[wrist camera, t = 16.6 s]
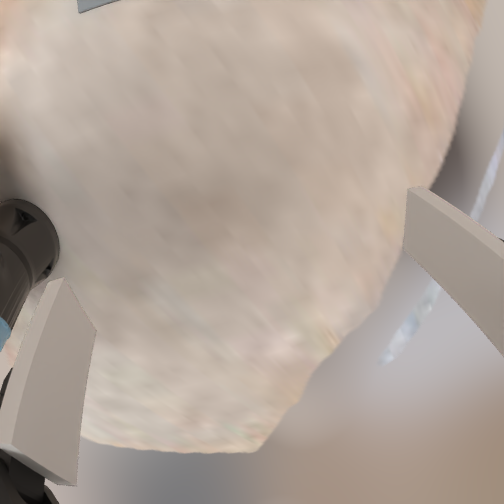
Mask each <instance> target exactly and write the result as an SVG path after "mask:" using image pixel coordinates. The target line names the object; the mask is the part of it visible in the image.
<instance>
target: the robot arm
mask: <svg viewBox="0 0 504 504" xmlns="http://www.w3.org/2000/svg"><path fill="white" fill-rule="evenodd" d="M403 249H404V250H405V251H406V252H407V253H408V254H409V255H410V256H411V257H412V258H413V259H414V260H415V261H416V262H417V263H418V264H419V265H420V266H421V267H422V268H423V269H424V270H425V271H426V272H428V274H429V275H430V276H431V277H432V278H433V279H434V280H435V281H436V282H437V283H438V284H439V285H440V286H441V287H442V288H443V289H444V290H445V291H446V292H447V293H448V294H449V295H450V296H451V297H452V298H453V299H454V301H455V302H456V303H457V304H458V305H459V306H460V307H461V308H462V309H463V310H464V311H465V313H467V315H468V316H469V317H470V318H471V319H472V320H473V321H474V323H476V325H477V326H478V327H479V328H480V329H481V331H483V333H484V334H485V335H486V336H487V338H488V339H489V340H490V341H491V342H492V344H493V345H494V346H495V347H496V348H497V350H498V351H499V352H500V353H501V354H502V356H503V357H504V240H502V239H500V238H498V237H496V236H495V235H494V234H492V233H491V232H490V231H488V230H487V229H486V228H484V227H483V226H481V225H480V224H479V223H477V222H476V221H474V220H473V219H472V218H470V217H469V216H467V215H466V214H464V213H463V212H462V211H460V210H459V209H457V208H455V207H454V206H453V205H451V204H450V203H448V202H447V201H445V200H443V199H442V198H440V197H439V196H437V195H436V194H434V193H433V192H431V191H429V190H428V189H426V188H424V187H423V186H418V187H414V188H409V189H407V202H406V217H405V229H404V240H403ZM58 256H59V241H58V237H57V233H56V231H55V229H54V226H53V225H52V223H51V221H50V220H49V218H48V217H47V216H46V215H45V214H44V213H43V212H42V211H41V210H40V209H39V208H38V207H36V206H35V205H33V204H31V203H29V202H27V201H23V200H18V199H13V200H7V201H5V202H3V203H1V204H0V352H1V350H2V348H3V346H4V344H5V342H6V340H7V339H8V338H9V337H10V334H11V331H12V329H13V327H14V324H15V322H16V320H17V317H18V315H19V313H20V311H21V309H22V306H23V304H24V302H25V300H26V298H27V296H28V294H29V292H30V290H31V289H33V288H34V287H35V286H37V285H38V284H39V283H41V282H42V281H44V280H45V279H46V278H47V277H48V276H49V275H50V273H51V272H52V270H53V268H54V266H55V264H56V262H57V260H58ZM96 331H97V330H96V329H95V327H94V326H93V324H92V323H91V321H90V319H89V318H88V316H87V315H86V313H85V311H84V310H83V308H82V307H81V305H80V303H79V302H78V300H77V298H76V296H75V295H74V293H73V291H72V290H71V288H70V286H69V284H68V283H67V281H66V279H65V277H62V278H59V279H56V280H52V281H49V282H48V284H47V286H46V288H45V290H44V292H43V295H42V297H41V299H40V301H39V303H38V306H37V308H36V310H35V312H34V315H33V317H32V319H31V322H30V324H29V327H28V329H27V331H26V334H25V337H24V339H23V342H22V344H21V347H20V350H19V352H18V355H17V358H16V361H15V363H14V366H13V368H11V370H10V371H9V373H8V375H7V376H6V378H5V379H4V382H3V385H2V388H1V391H0V504H59V502H58V501H57V499H56V498H55V496H54V495H53V493H52V491H51V490H50V489H49V488H48V487H47V486H46V485H44V482H45V478H46V479H48V480H50V481H52V482H54V483H55V484H57V485H66V486H77V469H78V454H79V441H80V431H81V422H82V413H83V406H84V398H85V391H86V385H87V378H88V372H89V367H90V361H91V356H92V350H93V345H94V340H95V336H96Z"/></svg>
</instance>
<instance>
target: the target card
mask: <svg viewBox="0 0 504 504" xmlns="http://www.w3.org/2000/svg"><path fill="white" fill-rule="evenodd" d="M115 1H119V0H77V3H78V12H79V13H83V12H85V11H88V10H91V9H94V8H97V7H99V6H103V5H106V4H109V3H112V2H115Z"/></svg>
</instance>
